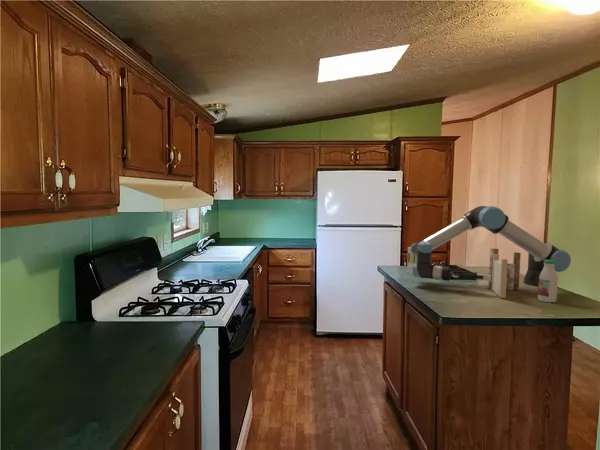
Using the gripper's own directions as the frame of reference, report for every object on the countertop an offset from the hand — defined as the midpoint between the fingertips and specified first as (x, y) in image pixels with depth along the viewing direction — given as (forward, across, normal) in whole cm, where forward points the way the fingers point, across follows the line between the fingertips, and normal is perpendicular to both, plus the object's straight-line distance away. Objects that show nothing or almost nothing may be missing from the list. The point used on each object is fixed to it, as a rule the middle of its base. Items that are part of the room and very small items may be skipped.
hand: (490, 277), depth 204 cm
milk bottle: (+25, -2, -9) cm, 27 cm away
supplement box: (-45, -34, -9) cm, 57 cm away
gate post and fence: (+6, -17, -9) cm, 20 cm away
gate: (+5, -3, -8) cm, 10 cm away
